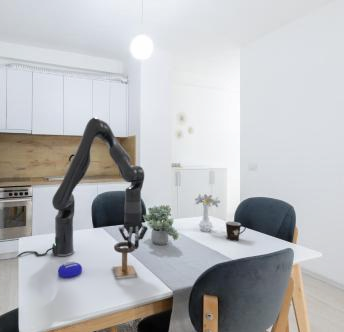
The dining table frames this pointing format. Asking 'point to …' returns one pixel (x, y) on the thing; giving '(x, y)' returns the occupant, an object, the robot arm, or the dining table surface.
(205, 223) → the flower vase
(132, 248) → the ring
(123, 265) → the post
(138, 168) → the robot arm
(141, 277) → the dining table surface
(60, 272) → the decorative object
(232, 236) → the coffee mug
